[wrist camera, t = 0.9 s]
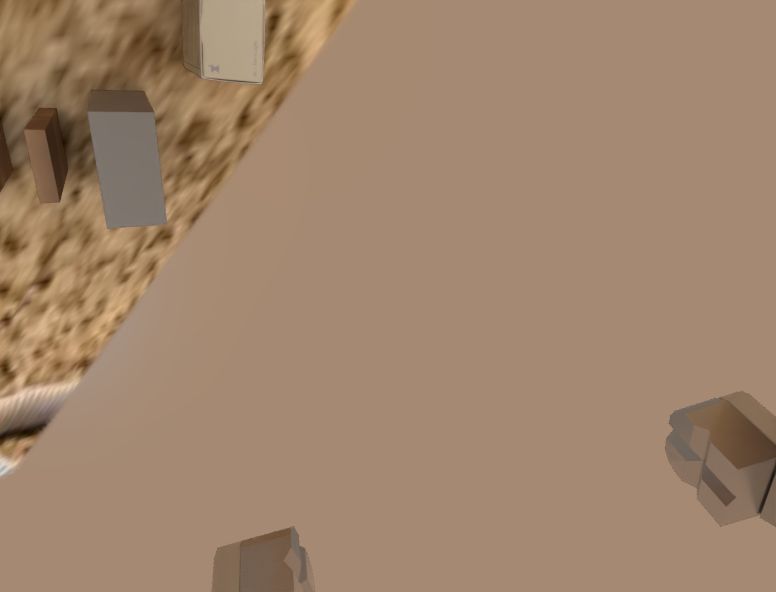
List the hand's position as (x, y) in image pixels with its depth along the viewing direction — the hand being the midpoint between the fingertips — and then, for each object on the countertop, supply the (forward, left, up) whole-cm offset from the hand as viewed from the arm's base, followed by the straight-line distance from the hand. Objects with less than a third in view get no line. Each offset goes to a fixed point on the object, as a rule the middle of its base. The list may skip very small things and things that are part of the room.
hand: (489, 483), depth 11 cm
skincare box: (-7, +2, -47) cm, 47 cm away
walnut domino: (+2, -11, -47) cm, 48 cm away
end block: (+2, -6, -47) cm, 47 cm away
